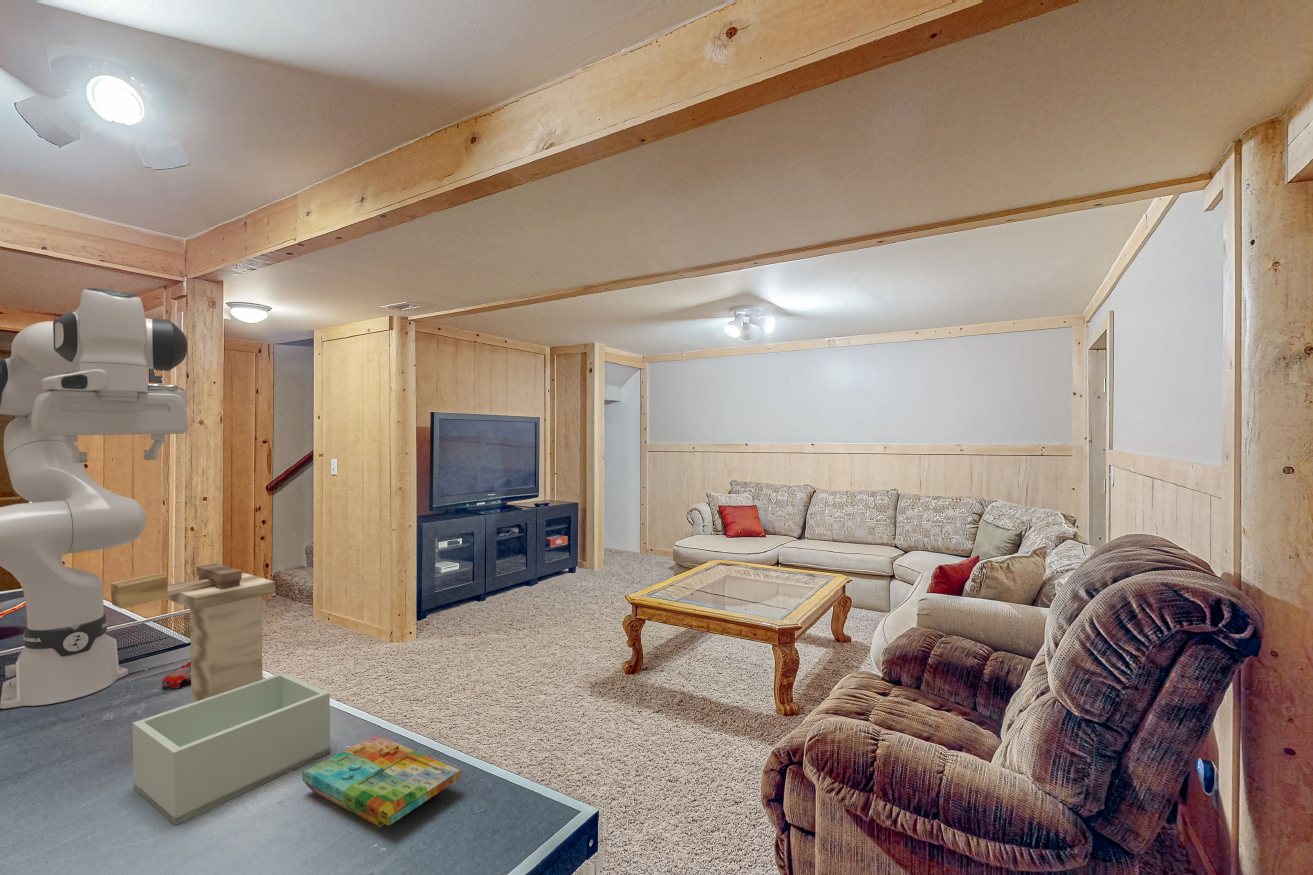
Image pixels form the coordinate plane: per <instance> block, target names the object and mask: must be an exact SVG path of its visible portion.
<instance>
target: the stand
mask: <svg viewBox="0 0 1313 875" xmlns="http://www.w3.org/2000/svg"><path fill="white" fill-rule="evenodd" d="M196 575H197V576H198V578H196V579H191V580H186V581H181V582H176V583H175V582H174V583H169V584H167V588H170V587H174V586H179V585H183V584H187V583H192V582H196V581H200V580H204V579H211V580H214V581H215V584H214V585H210V586H206V587H202V588H198V589H194V590H190V591H185V592H181V593H177V594H173V595H169V596H168V597H167V598H165V599H166V600H168V601H171V602H174V603H176V604H179V605H182V606H184V607H186V608H189V624H190V626H189V632H190V633H189V635H190V638H189V639H190V640H189V641H190V661H191V685H190V686H191V689H190V690H191V703H194V702H197V701H200V700H203V699H206V698H209V697H212V696H215V695H218V694H221V693H224V692H227V691H230V690H233V689H236V688H239V687H242V686H245V685H248V684H251V683H254V682H257V681H260V680H263V679H264V678H263V640H262V639H263V624H262V623H263V622H262V620H263V619H262V618H263V617H262V596H266V595H267V596H268V595H270V594H275V593H276V581H275V580H271V579H267V578H263V577H260V576H256V575H253V574H250V573H247V572H243V571H242V570H241V569H237V568H233V567H230V566H226V565H223V564H220V563H210V564H206V565H204V564H203V565H199V566H196Z"/></svg>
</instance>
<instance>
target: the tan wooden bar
mask: <svg viewBox="0 0 1313 875" xmlns="http://www.w3.org/2000/svg"><path fill="white" fill-rule="evenodd" d="M167 577H168V576H167V575H163V574H162V573H161V574H160V573H157V572H156V573H155V572H154V573H151V574H147V575H142V576H138V577H132V578H128V579H123V580H119V581H118V580H117V581H112V582H110V584H109V586H110V587H109V588H110V596H111V597H110V598H111V605H112V606H114V607H117V608H119V609H120V610H121V609H125V608H130V607H135V606H138V605H142V604H146V603H150V602H154V601H158V600H162V599H166V598H167V597H168V596H169V595H173V594H177V593H181V592H185V591H190V590H194V589H198V588H202V587H206V586H210V585H214V584H215V581H214V580H211V579H204V580H200V581H196V582H192V583H187V584H183V585H179V586H174V587H170V588H167V585H168V578H167Z"/></svg>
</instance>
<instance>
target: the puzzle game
mask: <svg viewBox="0 0 1313 875" xmlns="http://www.w3.org/2000/svg"><path fill="white" fill-rule="evenodd" d="M461 778H462V770H460V769H458V768H456V767H454V766H451V765H449V764H446V763H445V762H442V761H440V760H437V759H435V758H434V757H430V756H428V755H426V754H424V753H421V752H419V751H417V750H414V749H412V748H409V747H407V746H404V745H403V744H400V743H398V742H396V741H393V740H391V739H389V738H386V737H384V736H381V735H379V734H375V735H373V736H371V737H369V738H367V739H365V740H363V741H361V742H358V743H357V744H355V745H352V746H351V747H349V748H348V749H345V750H344V751H341V752H339V753H337V754H335V755H333V756H331V757H330V758H328V759H326V760H323V761H322V762H320V763H317V764H316V765H314V766H312V767H310V768H308V769H306V770H304V771H302V781H303V782H304V784H305V785H306V786H307V787H308V788H309V789H310V790H311V791H313V792H314V793H315V794H317V795H319V796H321V797H323V798H325V799H326V800H328V801H330V802H331V803H334V804H336V805H337V806H340V807H341V808H344V809H345V810H346V811H349V812H351V813H353V814H354V815H355V816H356V815H357V816H358V817H361V819H364V820H366V821H368V822H369V823H372V824H374V825H375V826H378V828H381V827H383V826H384V825H386V826H391V825H392V824H394V823H396V822H397V821H399V820H400V819H402V817H403V818H404V816H406V815H407V814H409V813H410V812H412V811H413V810H415V809H416V808H418V807H419V806H421V805H423V804H424V803H425V802H427V801H428V800H430V799H431V798H432V797H434V796H437V795H438V794H439V793H440V792H441V791H444V790H445V789H446V788H448V787H449V786H451V785H452V784H454V783H455V782H457V781H458V780H460V779H461Z"/></svg>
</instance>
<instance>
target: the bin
mask: <svg viewBox="0 0 1313 875" xmlns="http://www.w3.org/2000/svg"><path fill="white" fill-rule="evenodd" d="M330 699H331V698H330V692H329V691H326V690H324V689H322V688H320V687H317V686H315V685H313V684H310V683H309V682H306V681H304V680H301V679H299V678H297V677H294V676H292V675H290V674H287V673H285V672H281V673H278V674H275V675H272V676H269V677H266V678H263V680H260V681H257V682H254V683H251V684H248V685H245V686H242V687H239V688H236V689H233V690H230V691H227V692H224V693H221V694H218V695H215V696H212V697H209V698H206V699H203V700H200V701H197V702H194V703H192V702H191V703H188V704H184V705H182V706H179V707H175V708H173V709H170V710H167V711H164V712H160V713H158V714H155V715H152V716H150V717H146V718H143V719H140V720H137V721H134V722H132V758H133V759H132V761H133V763H132V764H133V790H134V791H135V792H136V793H137V794H139V796H141V797H142V798H143V799H145V800H146V801H147V803H149V804H150V805H151V806H152V807H154V808H155V810H157V811H158V812H159V814H161V815H163V816H164V817H165V818H166V819H167V820H168V821H169V822H170V823H171V824H173V826H177V825H179V824H182V823H183V822H185V821H187V820H190V819H192V818H194V817H197V816H198V815H201V814H203V813H205V812H207V811H209V810H211V809H214V808H215V807H218V806H220V805H222V804H223V803H226V802H228V801H230V800H233V799H235V798H238V797H239V796H241V795H243V794H246V793H247V791H248V792H249V790H250V791H251V789H252V790H253V789H255V788H258V787H260V786H262V785H264V784H266V783H268V782H272V780H274V779H277V778H280V777H282V776H284V775H286V774H288V773H290V772H293V771H295V770H297V769H298V768H301V767H302V766H305V765H307V764H309V763H311V762H313V761H316V760H318V759H320V758H322V757H324V756H326V755H328V754H330V753H331V714H330V713H331V712H330V711H331V709H330V705H331V704H330ZM240 794H241V795H240Z"/></svg>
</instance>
